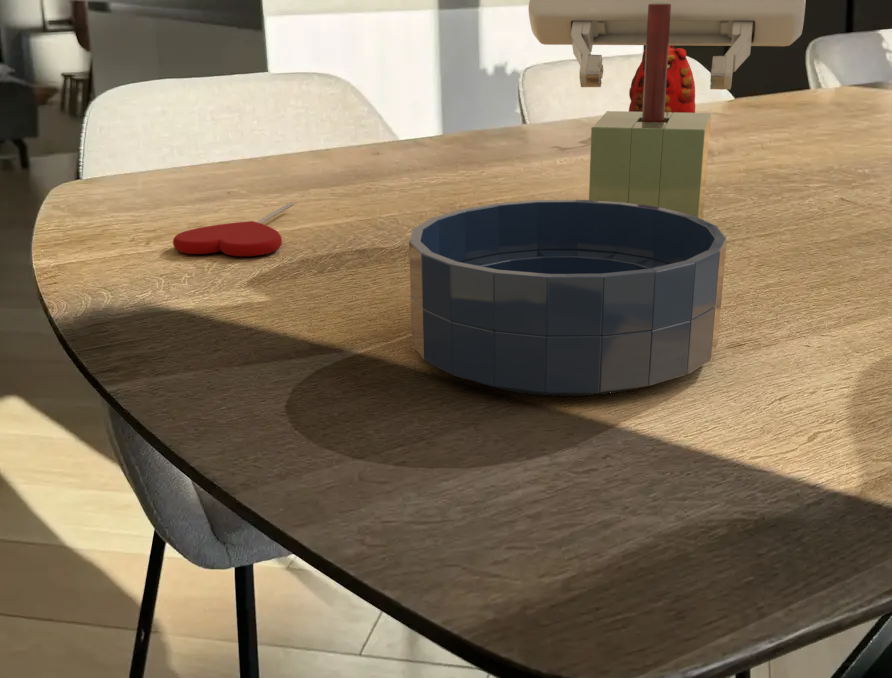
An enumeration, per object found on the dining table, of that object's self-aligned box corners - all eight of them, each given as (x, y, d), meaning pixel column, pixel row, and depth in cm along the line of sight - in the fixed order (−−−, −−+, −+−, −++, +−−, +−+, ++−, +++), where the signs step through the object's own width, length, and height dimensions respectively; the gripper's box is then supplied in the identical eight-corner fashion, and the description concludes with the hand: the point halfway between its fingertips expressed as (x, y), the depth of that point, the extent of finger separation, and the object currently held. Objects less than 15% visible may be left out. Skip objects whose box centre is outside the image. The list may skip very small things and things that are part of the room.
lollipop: (247, 207, 94) (162, 253, 81) (246, 196, 94) (161, 240, 80) (338, 211, 92) (266, 258, 79) (337, 200, 92) (265, 246, 78)
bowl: (580, 290, 71) (584, 187, 68) (779, 361, 59) (793, 240, 56) (359, 341, 63) (353, 227, 60) (536, 436, 51) (538, 298, 48)
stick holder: (602, 212, 90) (606, 111, 87) (703, 217, 88) (711, 113, 85) (587, 236, 83) (591, 127, 80) (696, 241, 81) (704, 129, 78)
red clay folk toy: (618, 132, 126) (625, -11, 120) (640, 123, 132) (648, -14, 126) (683, 136, 123) (693, -11, 117) (703, 127, 128) (714, -14, 122)
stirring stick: (647, 223, 87) (660, 3, 80) (661, 227, 86) (675, 3, 79) (632, 226, 86) (643, 4, 79) (646, 230, 85) (659, 4, 78)
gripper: (536, -95, 85) (508, 52, 81) (816, -102, 80) (802, 55, 76) (546, -33, 91) (520, 107, 87) (807, -36, 86) (794, 113, 82)
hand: (654, 83), depth 81 cm, fingers open, 8 cm apart
